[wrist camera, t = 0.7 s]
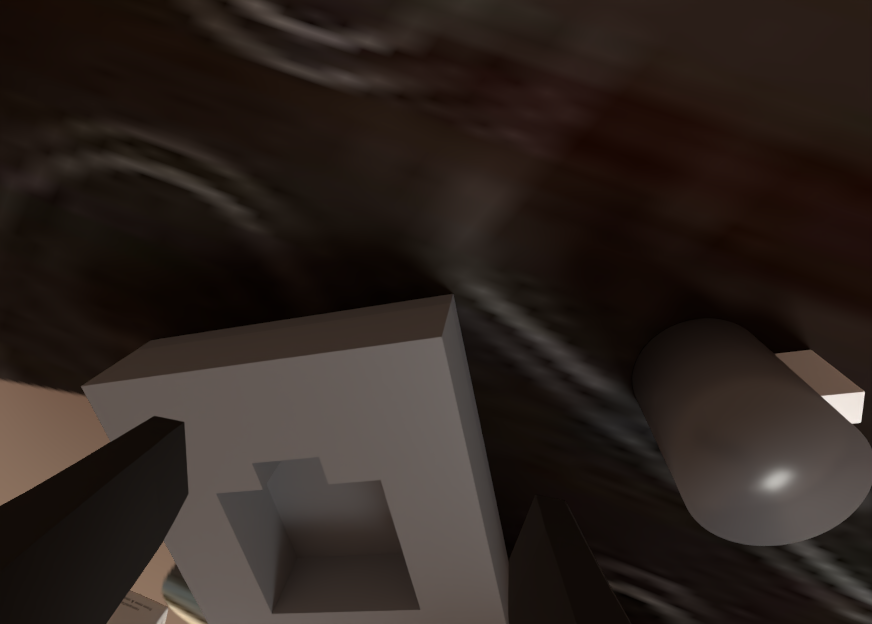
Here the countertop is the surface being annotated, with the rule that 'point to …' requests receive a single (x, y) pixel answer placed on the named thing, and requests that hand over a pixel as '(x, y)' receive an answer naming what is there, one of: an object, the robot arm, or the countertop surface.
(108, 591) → the robot arm
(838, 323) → the countertop surface
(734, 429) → the dark grey rounded piece
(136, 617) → the ink box
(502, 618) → the foam packaging insert
